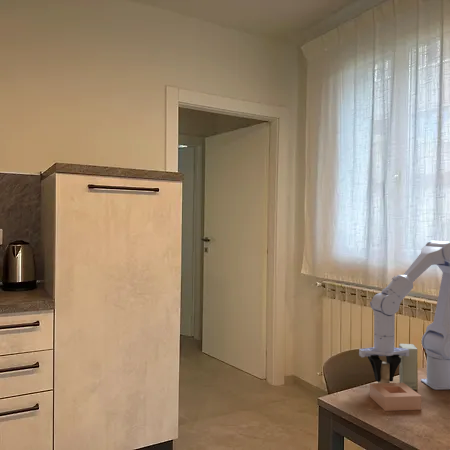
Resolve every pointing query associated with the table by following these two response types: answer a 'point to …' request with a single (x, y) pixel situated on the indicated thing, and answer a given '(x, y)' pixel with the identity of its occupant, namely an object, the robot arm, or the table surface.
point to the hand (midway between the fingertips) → (383, 380)
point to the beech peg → (385, 372)
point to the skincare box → (409, 367)
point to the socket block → (395, 396)
